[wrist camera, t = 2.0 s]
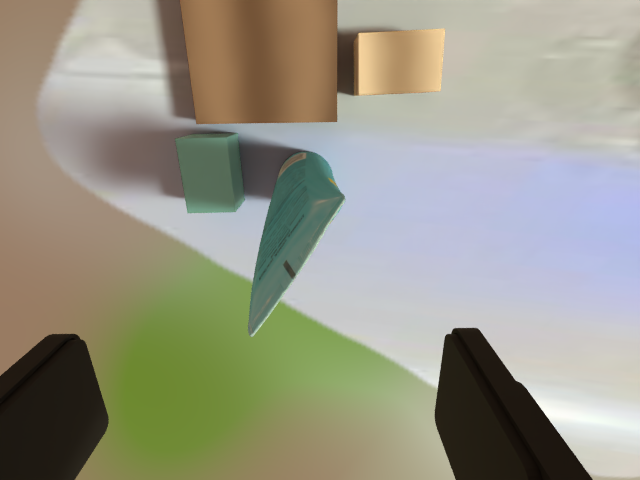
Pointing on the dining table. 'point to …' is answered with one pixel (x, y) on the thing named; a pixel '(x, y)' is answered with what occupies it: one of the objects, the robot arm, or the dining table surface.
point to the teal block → (211, 172)
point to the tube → (292, 229)
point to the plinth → (262, 60)
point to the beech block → (398, 62)
